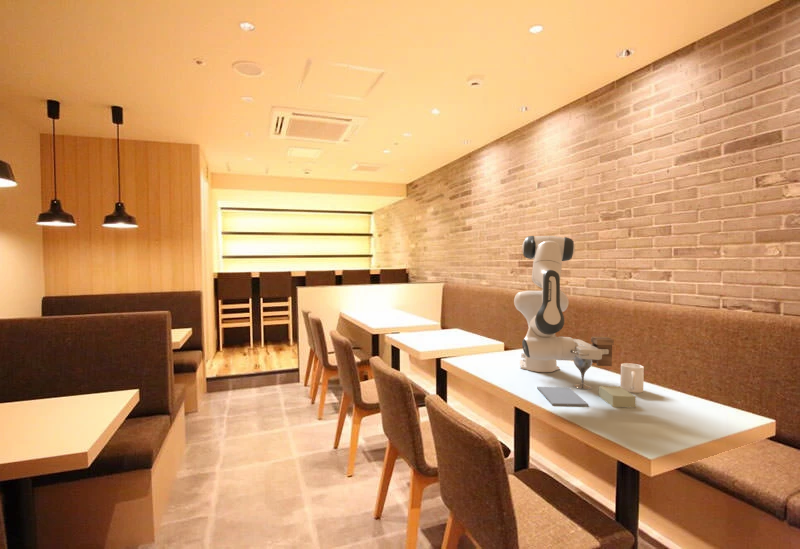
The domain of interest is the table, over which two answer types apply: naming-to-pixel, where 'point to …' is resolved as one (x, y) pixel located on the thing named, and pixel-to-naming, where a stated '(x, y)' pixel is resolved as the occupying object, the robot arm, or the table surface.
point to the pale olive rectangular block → (617, 396)
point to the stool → (603, 344)
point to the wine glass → (582, 370)
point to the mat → (562, 396)
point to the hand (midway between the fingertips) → (603, 349)
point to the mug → (632, 377)
